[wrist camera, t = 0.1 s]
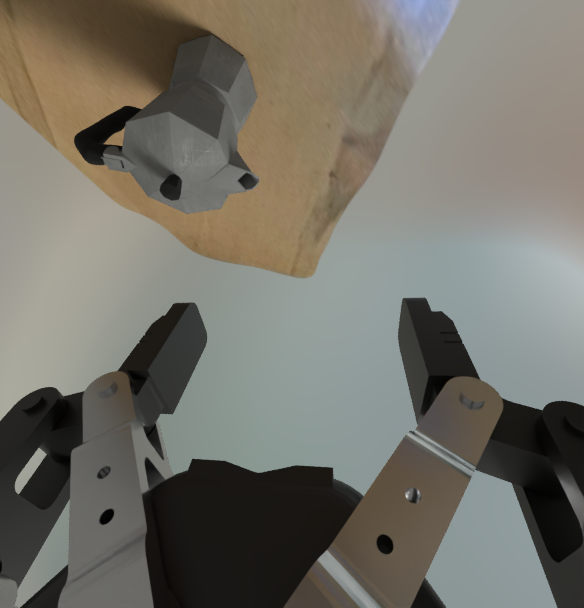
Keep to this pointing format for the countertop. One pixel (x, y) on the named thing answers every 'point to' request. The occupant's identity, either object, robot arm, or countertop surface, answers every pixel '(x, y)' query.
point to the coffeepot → (184, 131)
